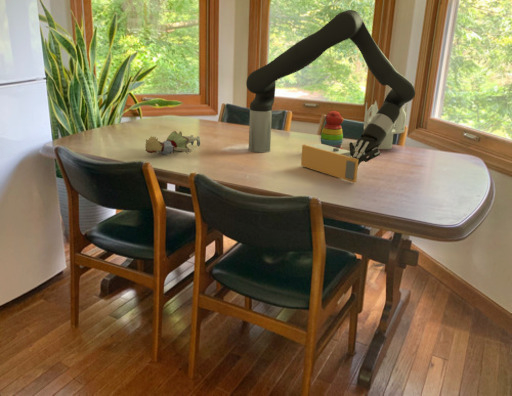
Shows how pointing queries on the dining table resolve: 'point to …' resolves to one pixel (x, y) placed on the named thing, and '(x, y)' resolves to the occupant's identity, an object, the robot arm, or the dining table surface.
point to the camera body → (332, 149)
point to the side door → (330, 163)
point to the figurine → (171, 143)
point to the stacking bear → (332, 130)
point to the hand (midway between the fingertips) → (351, 168)
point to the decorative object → (394, 129)
